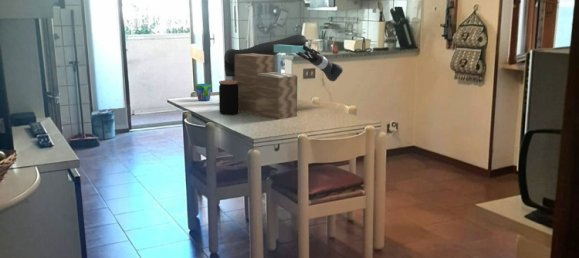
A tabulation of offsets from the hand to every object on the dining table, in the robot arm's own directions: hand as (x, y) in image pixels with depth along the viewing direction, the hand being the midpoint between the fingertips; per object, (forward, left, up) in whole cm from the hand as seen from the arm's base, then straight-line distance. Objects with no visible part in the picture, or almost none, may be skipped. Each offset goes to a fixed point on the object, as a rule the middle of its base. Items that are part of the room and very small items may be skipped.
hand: (300, 46), depth 315 cm
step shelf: (-20, -7, -37) cm, 42 cm away
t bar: (-3, -3, -3) cm, 5 cm away
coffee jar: (-40, -9, -37) cm, 55 cm away
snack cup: (-61, +36, -37) cm, 80 cm away
